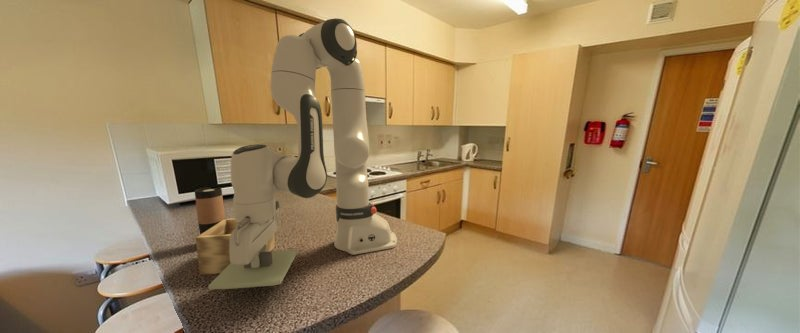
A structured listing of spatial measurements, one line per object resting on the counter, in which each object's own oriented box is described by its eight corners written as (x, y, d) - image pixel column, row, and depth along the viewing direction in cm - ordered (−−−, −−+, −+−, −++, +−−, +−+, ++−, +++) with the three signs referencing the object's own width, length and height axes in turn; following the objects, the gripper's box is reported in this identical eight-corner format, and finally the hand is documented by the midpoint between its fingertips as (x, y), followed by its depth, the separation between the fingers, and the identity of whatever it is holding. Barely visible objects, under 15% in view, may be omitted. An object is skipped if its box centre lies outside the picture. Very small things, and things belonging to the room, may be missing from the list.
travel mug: (206, 250, 84) (199, 192, 82) (197, 244, 88) (190, 190, 86) (231, 241, 91) (225, 188, 88) (221, 237, 95) (215, 186, 92)
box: (274, 246, 87) (272, 216, 85) (257, 269, 72) (254, 233, 71) (228, 249, 84) (224, 218, 83) (200, 274, 70) (195, 237, 68)
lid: (297, 256, 72) (296, 239, 71) (280, 288, 57) (279, 268, 57) (241, 260, 70) (239, 242, 69) (209, 294, 55) (207, 272, 54)
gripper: (250, 225, 52) (255, 286, 54) (281, 199, 72) (284, 244, 74) (217, 227, 51) (223, 289, 53) (258, 200, 71) (261, 245, 73)
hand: (259, 262), depth 63 cm, fingers closed on lid
